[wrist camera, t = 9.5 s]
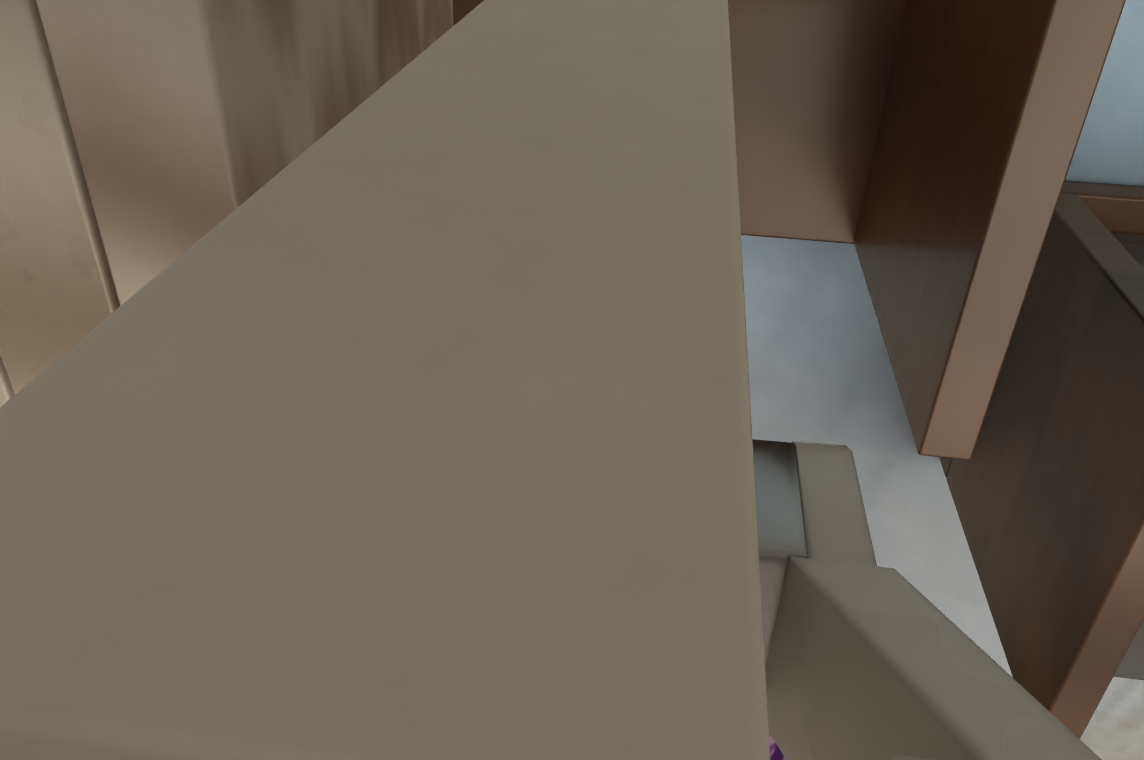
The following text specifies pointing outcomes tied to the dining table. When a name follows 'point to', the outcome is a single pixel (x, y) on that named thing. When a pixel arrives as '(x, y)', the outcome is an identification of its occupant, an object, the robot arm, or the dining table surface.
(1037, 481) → the brown book rack
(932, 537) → the dining table surface
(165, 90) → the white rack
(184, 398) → the white book
